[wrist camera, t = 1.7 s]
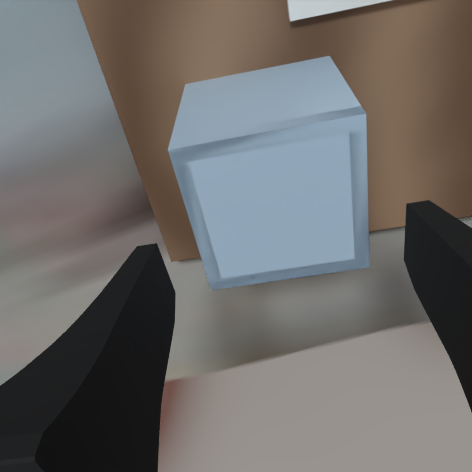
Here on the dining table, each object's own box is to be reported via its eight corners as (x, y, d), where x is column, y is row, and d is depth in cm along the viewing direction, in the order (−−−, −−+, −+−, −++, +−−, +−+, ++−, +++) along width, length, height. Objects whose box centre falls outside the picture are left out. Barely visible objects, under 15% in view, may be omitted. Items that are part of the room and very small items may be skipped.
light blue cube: (329, 55, 17) (366, 113, 13) (338, 183, 21) (369, 267, 16) (185, 84, 18) (167, 149, 13) (216, 203, 21) (211, 289, 17)
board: (672, -504, 11) (708, -538, 10) (520, 195, 22) (530, 206, 22) (-18, -293, 13) (-35, -306, 12) (173, 249, 24) (171, 261, 24)
